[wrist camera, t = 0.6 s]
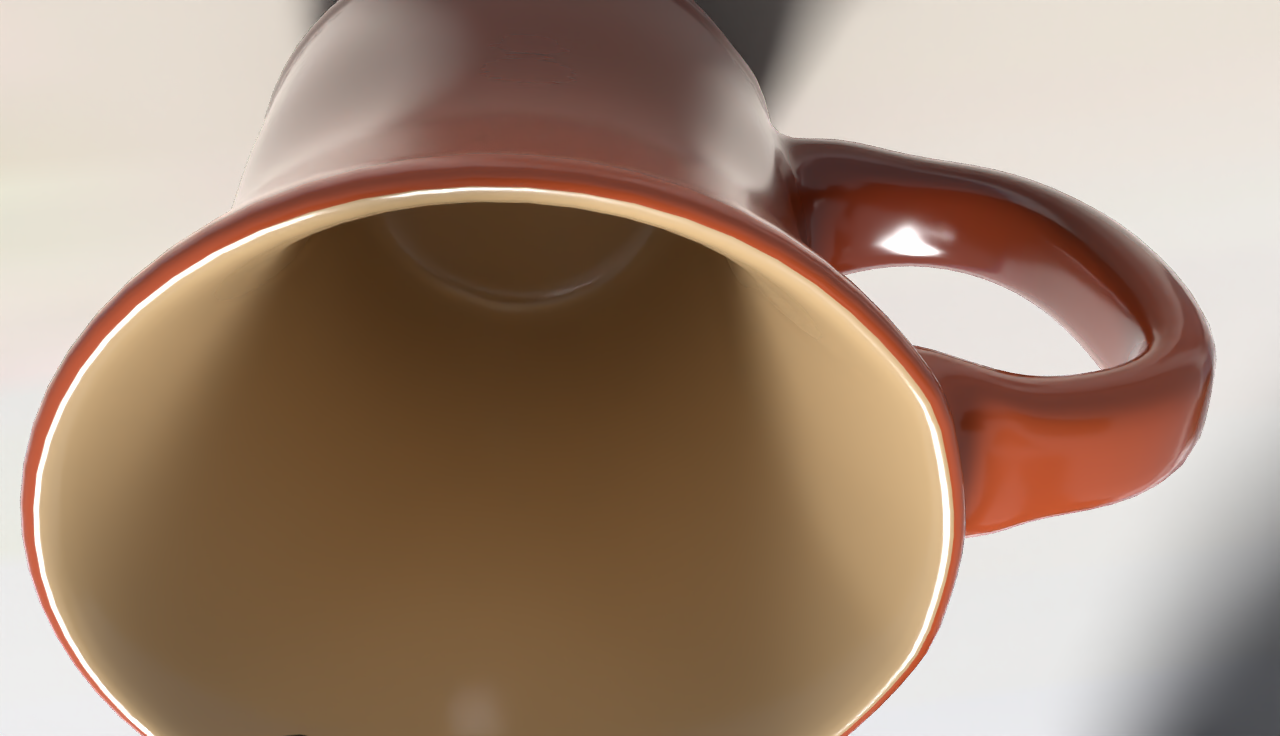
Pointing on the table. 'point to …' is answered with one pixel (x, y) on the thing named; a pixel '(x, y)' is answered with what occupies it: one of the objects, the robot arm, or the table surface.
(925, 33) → the table surface
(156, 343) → the mug
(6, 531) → the table surface
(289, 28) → the table surface
